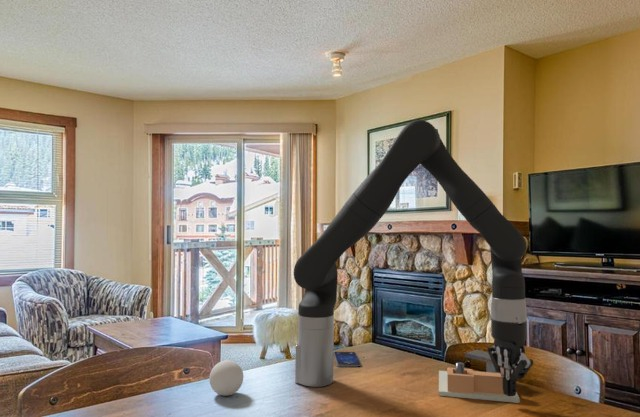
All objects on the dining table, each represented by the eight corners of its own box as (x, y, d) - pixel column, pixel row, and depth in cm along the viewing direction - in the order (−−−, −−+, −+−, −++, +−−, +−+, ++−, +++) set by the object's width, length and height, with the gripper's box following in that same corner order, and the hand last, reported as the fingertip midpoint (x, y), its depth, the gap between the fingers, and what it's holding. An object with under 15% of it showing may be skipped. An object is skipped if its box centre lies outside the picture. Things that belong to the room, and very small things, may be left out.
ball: (233, 402, 108) (234, 367, 109) (202, 398, 111) (203, 363, 111) (248, 391, 116) (249, 357, 116) (219, 387, 118) (220, 355, 119)
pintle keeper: (455, 393, 115) (455, 364, 116) (454, 373, 131) (453, 348, 131) (514, 398, 112) (514, 368, 112) (505, 378, 127) (505, 351, 128)
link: (511, 388, 116) (510, 372, 116) (514, 397, 110) (514, 379, 110) (447, 383, 120) (447, 367, 120) (447, 391, 114) (447, 374, 114)
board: (438, 395, 114) (438, 391, 114) (438, 374, 130) (438, 370, 130) (519, 402, 109) (519, 398, 109) (509, 379, 126) (509, 376, 126)
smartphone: (355, 351, 151) (362, 365, 136) (355, 354, 151) (362, 368, 136) (332, 351, 151) (337, 365, 136) (332, 354, 151) (336, 368, 136)
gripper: (476, 313, 113) (477, 387, 113) (515, 324, 101) (516, 407, 100) (502, 311, 116) (503, 384, 115) (543, 322, 103) (545, 403, 102)
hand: (509, 395), depth 107 cm, fingers closed
